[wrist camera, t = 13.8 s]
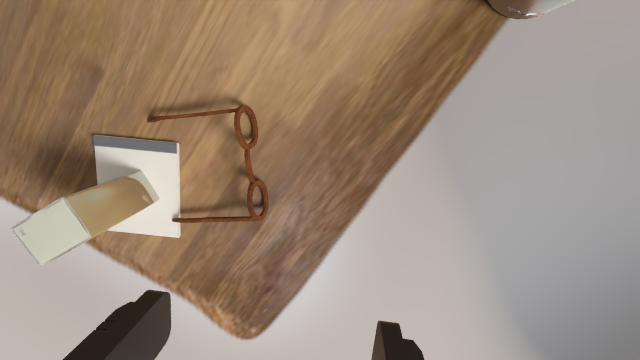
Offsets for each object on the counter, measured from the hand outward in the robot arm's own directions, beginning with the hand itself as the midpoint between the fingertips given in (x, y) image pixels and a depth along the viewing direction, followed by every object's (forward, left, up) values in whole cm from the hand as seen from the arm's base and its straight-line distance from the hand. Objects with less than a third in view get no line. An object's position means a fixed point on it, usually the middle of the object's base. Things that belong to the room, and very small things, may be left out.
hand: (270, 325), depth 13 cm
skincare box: (+5, -22, -27) cm, 36 cm away
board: (+4, -22, -28) cm, 35 cm away
